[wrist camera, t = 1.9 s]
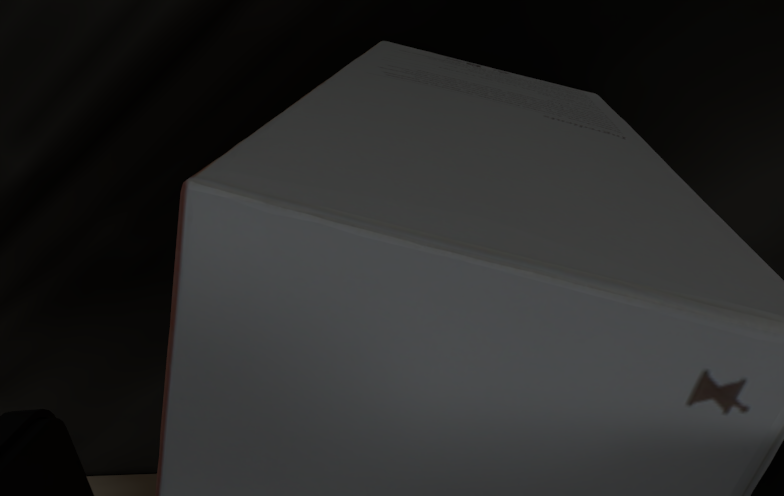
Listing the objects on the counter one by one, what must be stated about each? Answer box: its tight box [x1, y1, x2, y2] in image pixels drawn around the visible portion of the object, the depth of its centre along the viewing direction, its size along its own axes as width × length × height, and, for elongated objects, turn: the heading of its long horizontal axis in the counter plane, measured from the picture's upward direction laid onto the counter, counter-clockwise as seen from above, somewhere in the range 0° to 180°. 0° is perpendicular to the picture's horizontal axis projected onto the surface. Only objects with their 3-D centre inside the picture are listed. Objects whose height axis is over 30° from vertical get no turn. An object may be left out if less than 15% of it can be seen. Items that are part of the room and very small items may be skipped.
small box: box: [155, 41, 784, 496], centre depth 13 cm, size 8×6×13 cm
